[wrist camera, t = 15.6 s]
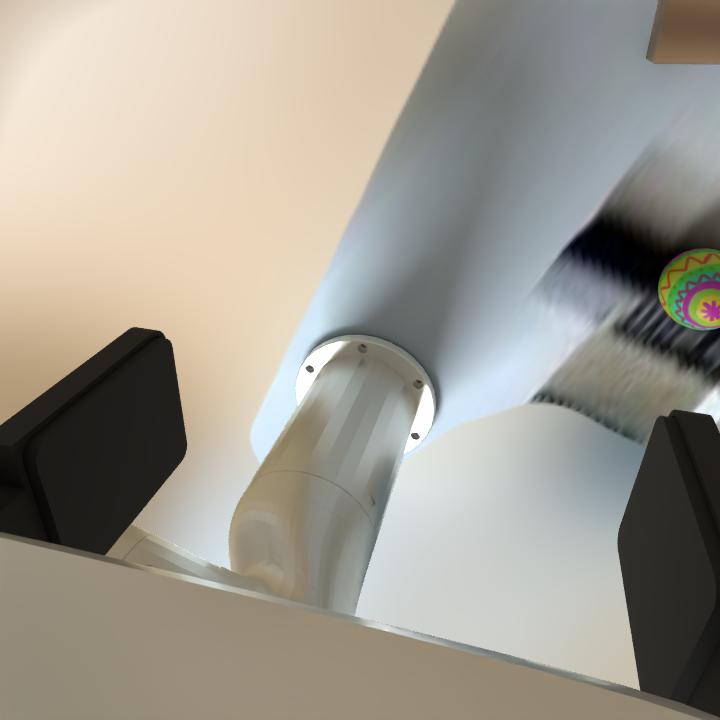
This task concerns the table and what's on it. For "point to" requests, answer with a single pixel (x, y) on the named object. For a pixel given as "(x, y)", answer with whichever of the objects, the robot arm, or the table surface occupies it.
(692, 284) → the egg
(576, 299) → the table surface
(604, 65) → the table surface
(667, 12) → the walnut block
